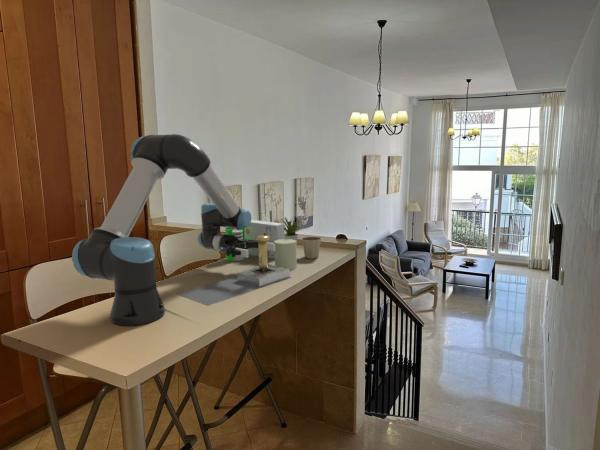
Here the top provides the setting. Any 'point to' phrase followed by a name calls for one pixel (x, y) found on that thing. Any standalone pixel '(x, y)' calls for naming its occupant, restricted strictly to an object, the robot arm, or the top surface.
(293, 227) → the house plant
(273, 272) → the grey flat rectangular block
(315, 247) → the flower pot
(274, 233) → the skincare box
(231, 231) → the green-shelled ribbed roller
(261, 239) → the pin
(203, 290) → the mat
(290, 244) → the can
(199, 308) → the top surface
